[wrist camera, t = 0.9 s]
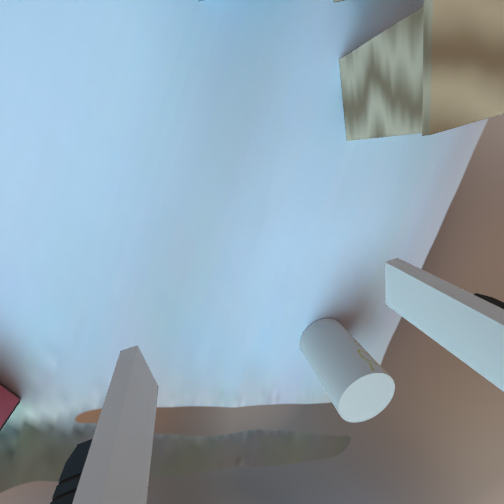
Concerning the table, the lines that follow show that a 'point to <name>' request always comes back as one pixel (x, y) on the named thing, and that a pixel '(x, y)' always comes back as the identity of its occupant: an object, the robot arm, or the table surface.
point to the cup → (346, 371)
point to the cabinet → (427, 71)
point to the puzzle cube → (6, 405)
